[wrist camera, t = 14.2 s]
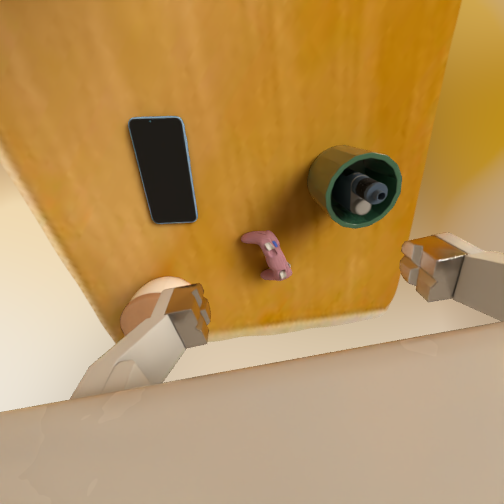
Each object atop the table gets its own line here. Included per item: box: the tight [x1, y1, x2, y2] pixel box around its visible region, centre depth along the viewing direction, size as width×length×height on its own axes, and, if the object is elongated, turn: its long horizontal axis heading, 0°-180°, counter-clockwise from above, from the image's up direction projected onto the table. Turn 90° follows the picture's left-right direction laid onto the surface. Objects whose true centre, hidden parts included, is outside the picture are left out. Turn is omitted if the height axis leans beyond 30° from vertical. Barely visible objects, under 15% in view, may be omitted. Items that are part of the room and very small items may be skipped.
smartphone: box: [128, 116, 198, 224], centre depth 35 cm, size 7×1×15 cm
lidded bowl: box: [120, 277, 191, 349], centre depth 41 cm, size 13×13×11 cm
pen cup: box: [307, 145, 402, 228], centre depth 33 cm, size 9×9×9 cm
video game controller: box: [241, 230, 292, 281], centre depth 40 cm, size 10×5×7 cm, turn 24°
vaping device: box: [332, 168, 388, 215], centre depth 31 cm, size 3×5×12 cm, turn 10°
